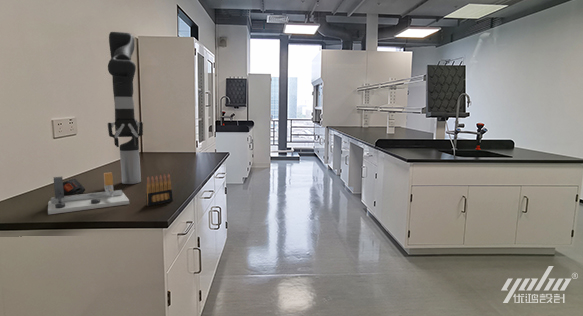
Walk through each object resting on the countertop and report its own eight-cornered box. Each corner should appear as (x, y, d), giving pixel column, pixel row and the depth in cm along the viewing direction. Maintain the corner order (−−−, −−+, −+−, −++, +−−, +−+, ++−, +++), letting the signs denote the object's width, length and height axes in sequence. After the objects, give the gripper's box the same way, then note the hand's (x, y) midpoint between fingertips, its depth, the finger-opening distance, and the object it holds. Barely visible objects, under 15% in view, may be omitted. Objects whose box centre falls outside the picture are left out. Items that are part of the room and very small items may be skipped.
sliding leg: (104, 191, 159) (103, 172, 157) (112, 190, 160) (111, 172, 159) (107, 197, 149) (106, 177, 148) (116, 196, 151) (114, 176, 150)
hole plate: (48, 204, 150) (48, 198, 150) (123, 195, 165) (123, 190, 164) (48, 214, 137) (47, 207, 136) (129, 203, 151) (129, 197, 151)
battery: (61, 202, 160) (73, 193, 159) (50, 187, 160) (62, 178, 159) (79, 198, 171) (90, 189, 171) (69, 184, 172) (80, 175, 171)
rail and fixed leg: (51, 202, 148) (49, 177, 147) (121, 193, 162) (120, 171, 161) (51, 208, 139) (48, 182, 138) (125, 199, 153) (124, 175, 151)
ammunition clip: (148, 205, 149) (146, 176, 147) (146, 205, 150) (144, 176, 148) (172, 201, 156) (171, 173, 155) (170, 200, 158) (169, 172, 156)
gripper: (140, 107, 164) (142, 144, 166) (104, 107, 156) (107, 146, 159) (144, 107, 158) (146, 146, 160) (106, 107, 150) (109, 148, 152)
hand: (126, 146), depth 159 cm, fingers open, 7 cm apart
